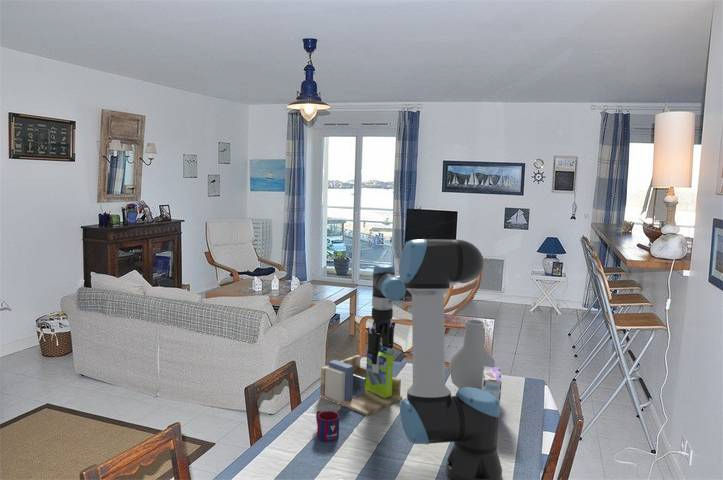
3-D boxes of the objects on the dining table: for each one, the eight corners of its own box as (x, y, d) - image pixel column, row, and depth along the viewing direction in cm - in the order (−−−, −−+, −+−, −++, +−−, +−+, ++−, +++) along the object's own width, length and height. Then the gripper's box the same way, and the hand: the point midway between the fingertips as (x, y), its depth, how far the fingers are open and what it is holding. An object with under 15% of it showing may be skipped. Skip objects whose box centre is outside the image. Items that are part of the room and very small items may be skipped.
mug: (322, 443, 167) (323, 422, 166) (309, 429, 176) (309, 408, 175) (342, 439, 170) (343, 418, 169) (328, 425, 179) (329, 405, 178)
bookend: (355, 398, 198) (355, 382, 197) (334, 390, 204) (335, 375, 203) (365, 394, 202) (365, 378, 201) (344, 386, 208) (345, 371, 208)
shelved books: (342, 402, 194) (343, 369, 193) (324, 395, 200) (325, 363, 198) (352, 398, 198) (353, 365, 197) (333, 391, 204) (334, 359, 202)
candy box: (498, 429, 180) (502, 381, 178) (480, 427, 181) (483, 379, 179) (497, 412, 194) (500, 366, 192) (479, 410, 195) (482, 364, 193)
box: (364, 389, 205) (366, 344, 203) (372, 386, 208) (374, 342, 206) (384, 399, 197) (386, 352, 195) (392, 396, 200) (394, 349, 198)
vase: (445, 400, 202) (450, 325, 198) (449, 383, 218) (453, 314, 214) (492, 406, 198) (498, 330, 194) (493, 389, 214) (498, 318, 210)
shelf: (367, 415, 187) (368, 384, 185) (320, 396, 201) (321, 367, 199) (402, 398, 202) (403, 369, 201) (356, 382, 216) (357, 354, 215)
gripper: (375, 313, 189) (372, 379, 192) (405, 305, 203) (402, 367, 205) (358, 309, 194) (356, 373, 197) (388, 301, 207) (386, 362, 210)
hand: (379, 370), depth 201 cm, fingers closed on box, 4 cm apart
